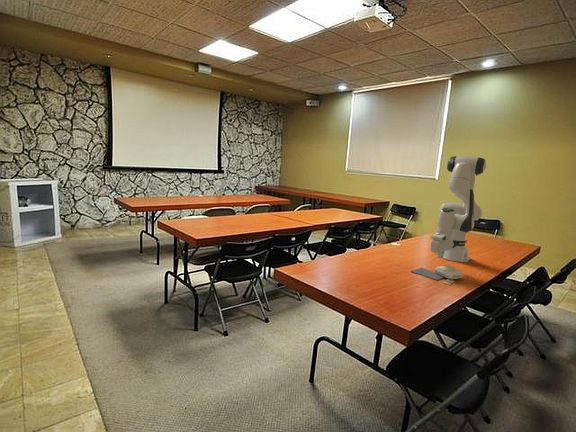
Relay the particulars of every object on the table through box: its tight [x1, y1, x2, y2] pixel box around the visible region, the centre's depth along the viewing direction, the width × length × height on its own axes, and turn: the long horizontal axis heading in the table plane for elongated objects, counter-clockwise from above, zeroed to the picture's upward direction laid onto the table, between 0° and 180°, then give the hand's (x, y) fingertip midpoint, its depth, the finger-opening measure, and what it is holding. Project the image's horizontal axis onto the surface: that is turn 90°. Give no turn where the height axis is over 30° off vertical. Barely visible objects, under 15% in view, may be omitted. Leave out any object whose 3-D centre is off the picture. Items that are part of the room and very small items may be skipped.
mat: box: [410, 267, 447, 281], centre depth 189 cm, size 12×16×1 cm
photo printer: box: [434, 265, 464, 280], centre depth 186 cm, size 10×4×12 cm
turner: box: [443, 278, 455, 286], centre depth 181 cm, size 16×4×1 cm, turn 141°
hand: (440, 258), depth 195 cm, fingers closed
